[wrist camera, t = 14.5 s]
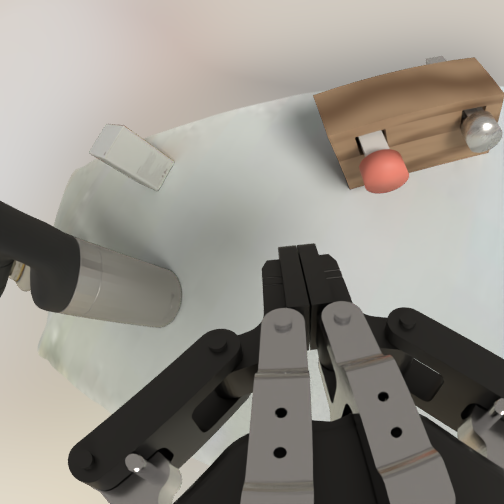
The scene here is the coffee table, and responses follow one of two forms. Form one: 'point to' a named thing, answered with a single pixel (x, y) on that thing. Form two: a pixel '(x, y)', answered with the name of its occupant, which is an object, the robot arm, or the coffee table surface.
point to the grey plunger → (476, 124)
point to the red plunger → (381, 164)
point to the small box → (132, 156)
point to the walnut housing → (408, 113)
